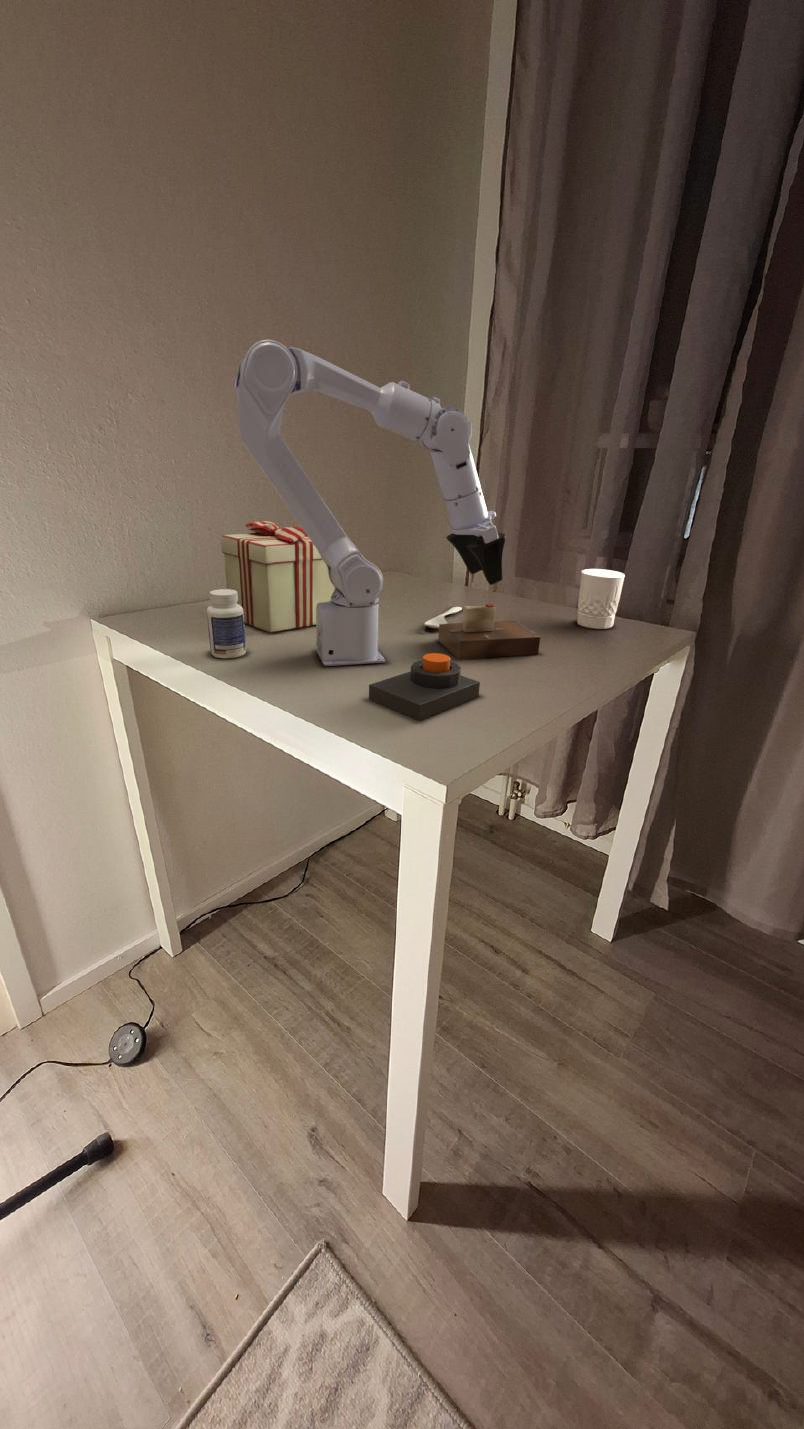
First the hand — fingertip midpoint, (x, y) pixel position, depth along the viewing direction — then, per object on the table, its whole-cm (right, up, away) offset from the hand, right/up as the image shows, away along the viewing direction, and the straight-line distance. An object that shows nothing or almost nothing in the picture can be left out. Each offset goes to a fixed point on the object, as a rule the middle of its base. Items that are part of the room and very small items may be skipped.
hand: (486, 576), depth 98 cm
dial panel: (+1, -11, +5) cm, 12 cm away
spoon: (-5, -4, +21) cm, 22 cm away
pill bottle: (-41, -13, -2) cm, 43 cm away
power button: (-9, -16, -16) cm, 25 cm away
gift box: (-36, -4, +18) cm, 40 cm away
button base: (-10, -20, -16) cm, 28 cm away
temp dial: (-1, -8, +4) cm, 9 cm away
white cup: (+24, -5, +21) cm, 33 cm away
